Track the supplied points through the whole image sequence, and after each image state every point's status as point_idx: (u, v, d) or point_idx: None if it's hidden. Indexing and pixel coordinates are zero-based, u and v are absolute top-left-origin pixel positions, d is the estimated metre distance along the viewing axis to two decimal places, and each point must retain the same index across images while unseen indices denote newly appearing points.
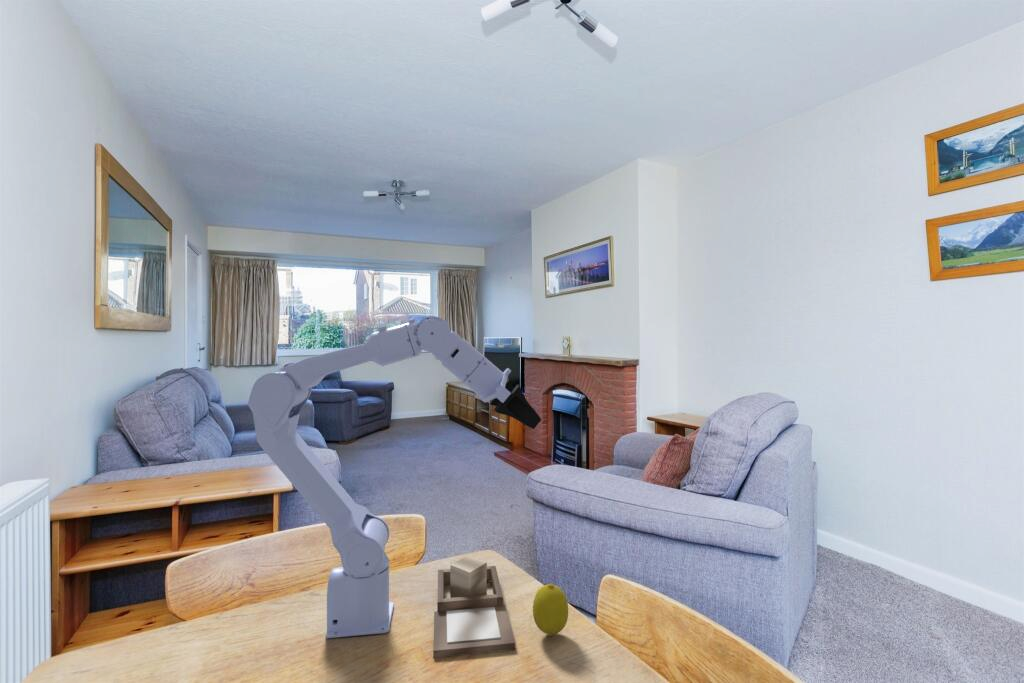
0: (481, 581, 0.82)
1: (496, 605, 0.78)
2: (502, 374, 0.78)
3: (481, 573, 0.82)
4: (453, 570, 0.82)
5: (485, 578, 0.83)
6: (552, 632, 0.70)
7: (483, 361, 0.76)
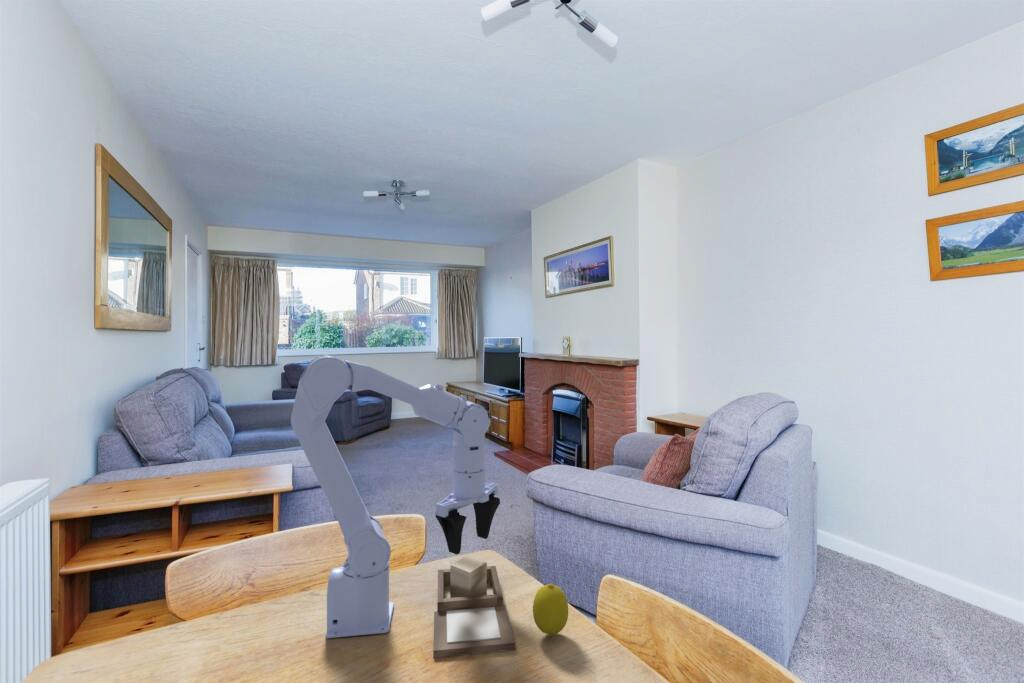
0: (481, 581, 0.82)
1: (496, 605, 0.78)
2: (474, 496, 0.80)
3: (481, 573, 0.82)
4: (453, 570, 0.82)
5: (485, 578, 0.83)
6: (552, 632, 0.70)
7: (470, 474, 0.80)
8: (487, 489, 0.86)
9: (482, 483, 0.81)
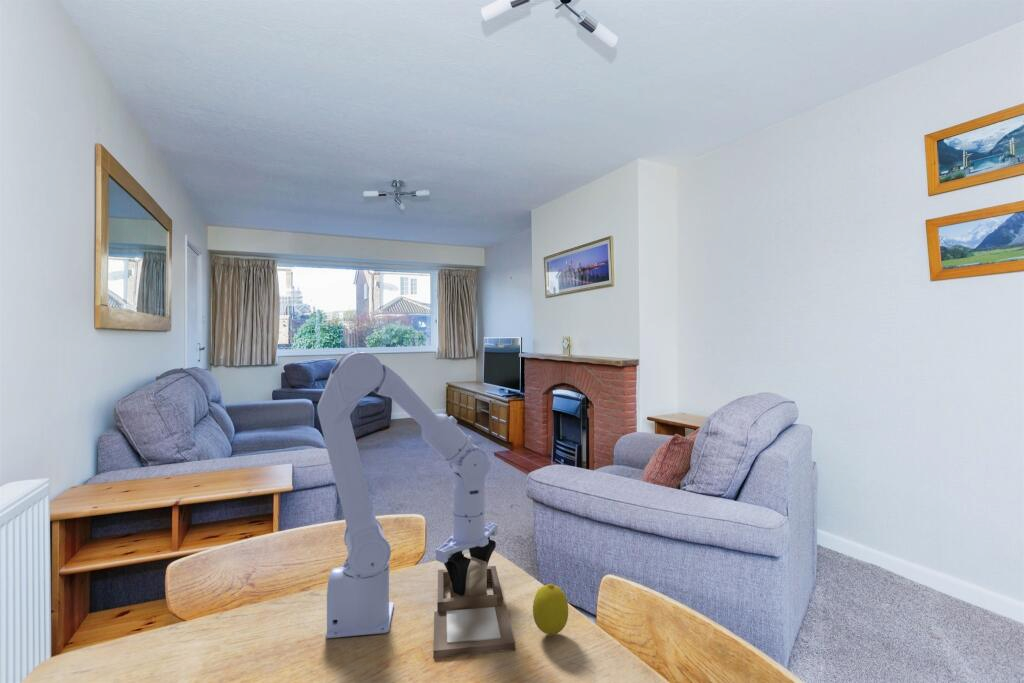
0: (481, 581, 0.82)
1: (496, 605, 0.78)
2: (474, 540, 0.80)
3: (481, 572, 0.82)
4: None
5: (485, 578, 0.83)
6: (552, 632, 0.70)
7: (470, 518, 0.80)
8: (487, 530, 0.86)
9: (482, 526, 0.81)
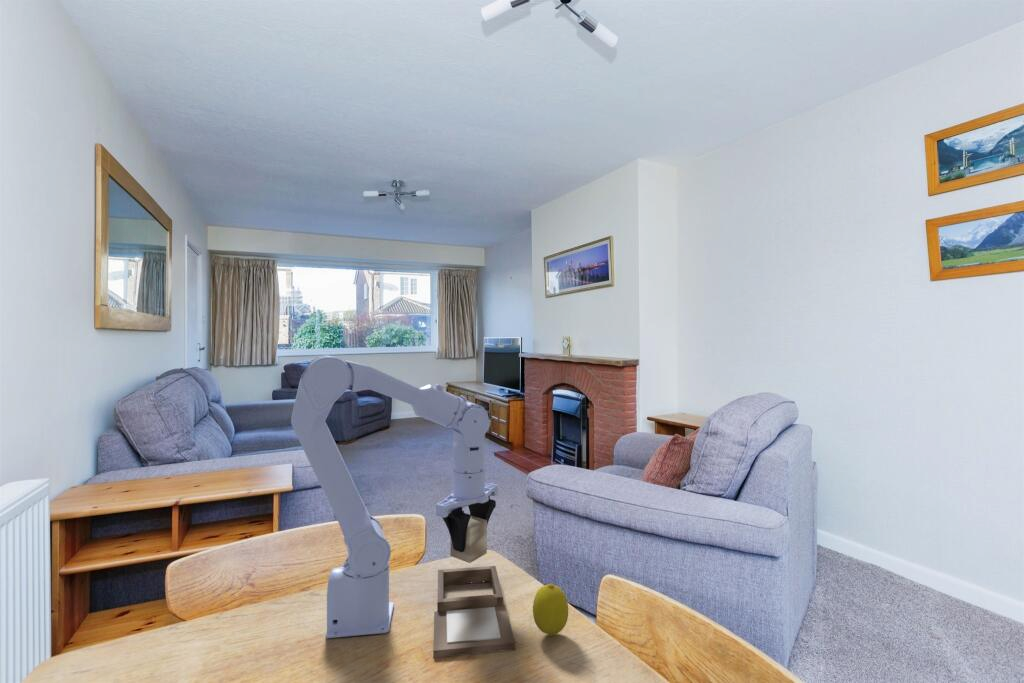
0: (481, 538, 0.82)
1: (496, 605, 0.78)
2: (474, 497, 0.80)
3: (481, 530, 0.82)
4: None
5: (485, 536, 0.83)
6: (552, 632, 0.70)
7: (470, 475, 0.80)
8: (487, 489, 0.86)
9: (482, 483, 0.81)
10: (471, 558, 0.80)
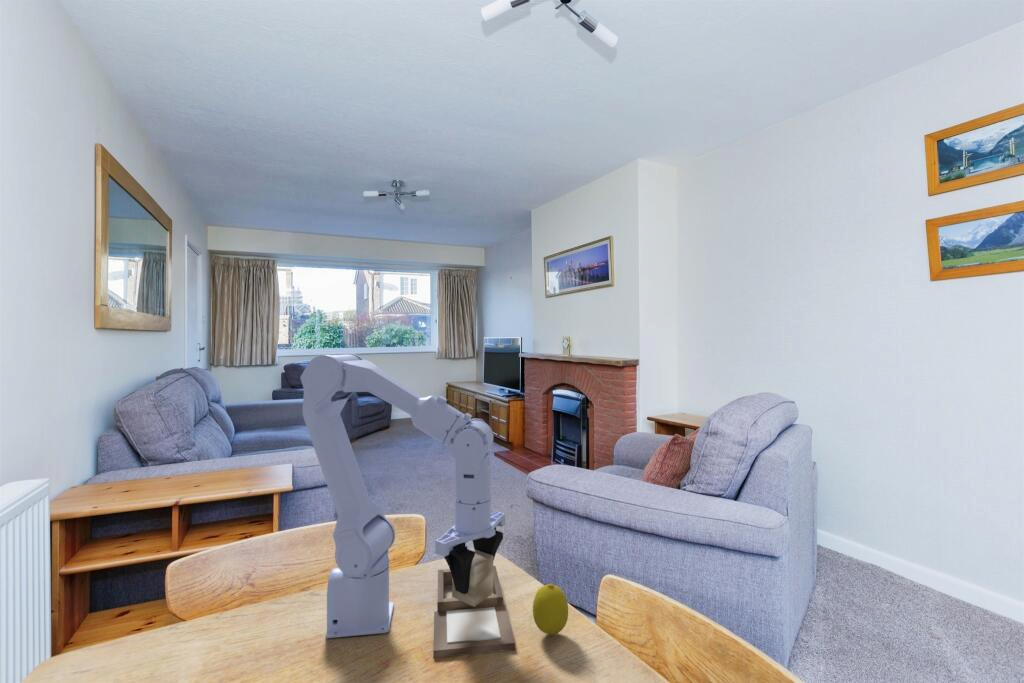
0: (487, 577, 0.72)
1: (496, 605, 0.78)
2: (479, 531, 0.70)
3: (487, 568, 0.72)
4: None
5: (491, 574, 0.73)
6: (552, 632, 0.70)
7: (474, 506, 0.70)
8: (493, 520, 0.76)
9: (488, 515, 0.72)
10: (476, 601, 0.70)
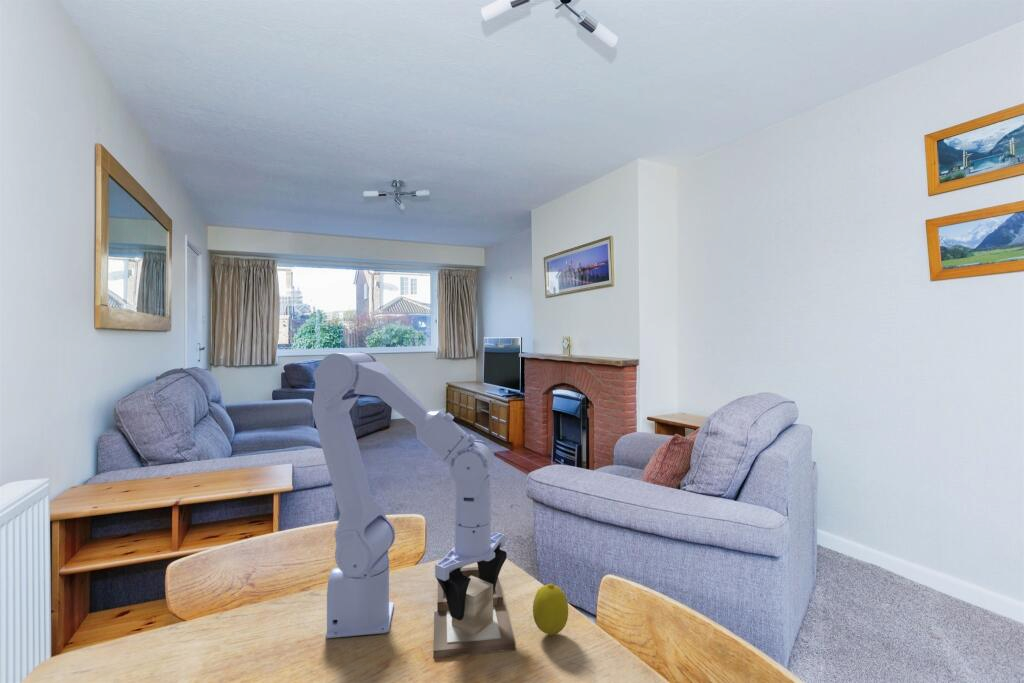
0: (487, 606, 0.72)
1: (496, 605, 0.78)
2: (479, 554, 0.70)
3: (487, 596, 0.72)
4: None
5: (491, 602, 0.73)
6: (552, 632, 0.70)
7: (474, 529, 0.70)
8: (493, 541, 0.76)
9: (488, 538, 0.71)
10: (475, 630, 0.70)
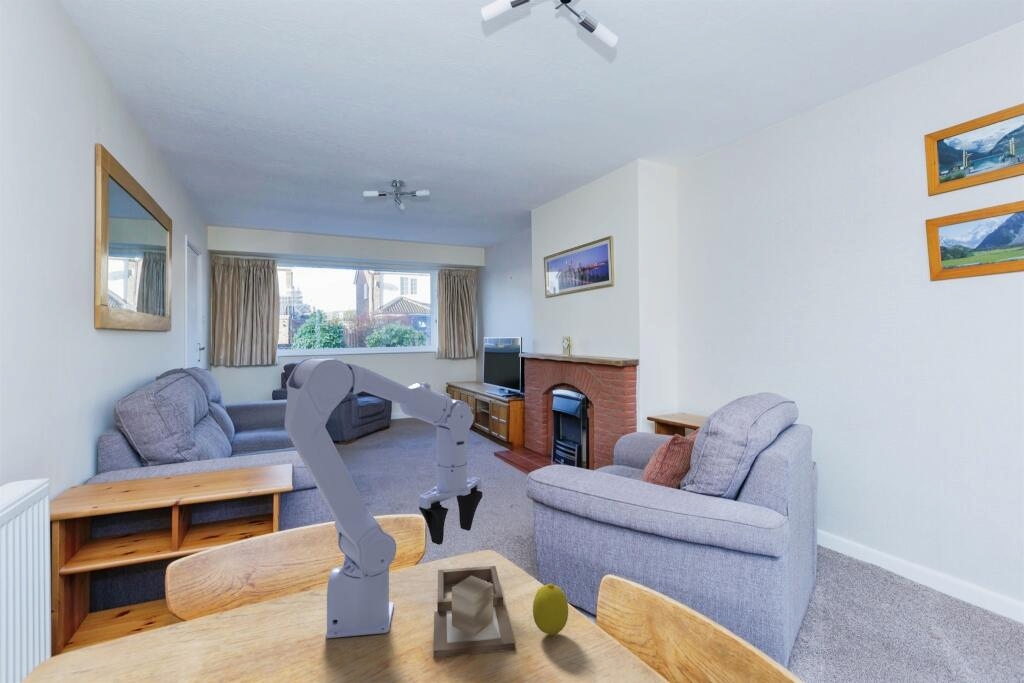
0: (487, 606, 0.72)
1: (496, 605, 0.78)
2: (457, 489, 0.84)
3: (487, 596, 0.72)
4: (455, 593, 0.72)
5: (491, 602, 0.73)
6: (552, 632, 0.70)
7: (452, 468, 0.83)
8: (470, 483, 0.89)
9: (464, 477, 0.85)
10: (475, 630, 0.70)
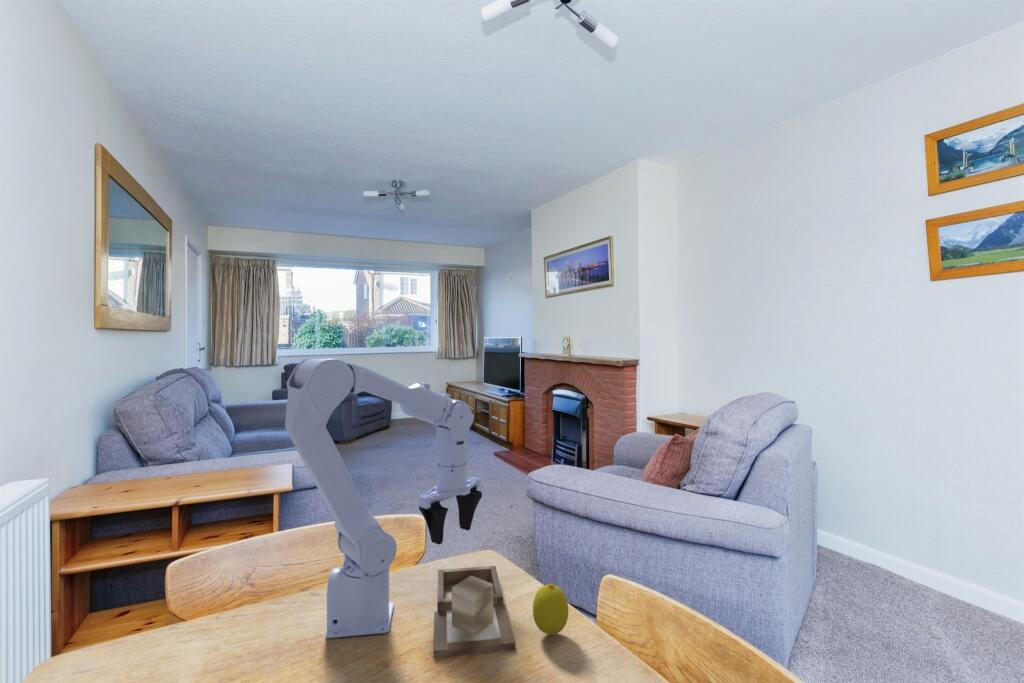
0: (487, 606, 0.72)
1: (496, 605, 0.78)
2: (456, 489, 0.84)
3: (487, 596, 0.72)
4: (455, 593, 0.72)
5: (491, 602, 0.73)
6: (552, 632, 0.70)
7: (452, 468, 0.84)
8: (469, 483, 0.90)
9: (464, 477, 0.85)
10: (475, 630, 0.70)
